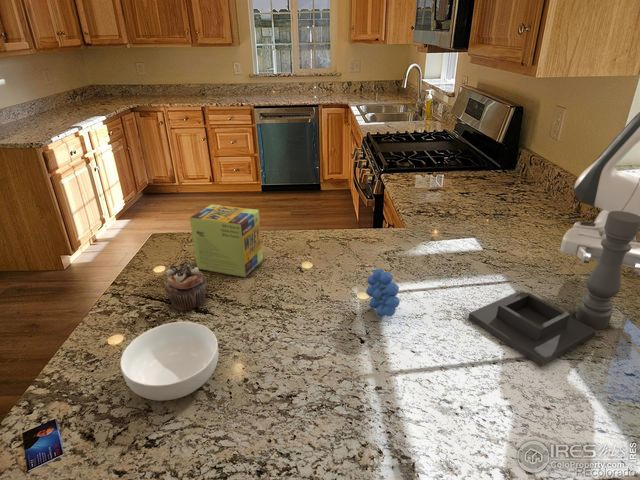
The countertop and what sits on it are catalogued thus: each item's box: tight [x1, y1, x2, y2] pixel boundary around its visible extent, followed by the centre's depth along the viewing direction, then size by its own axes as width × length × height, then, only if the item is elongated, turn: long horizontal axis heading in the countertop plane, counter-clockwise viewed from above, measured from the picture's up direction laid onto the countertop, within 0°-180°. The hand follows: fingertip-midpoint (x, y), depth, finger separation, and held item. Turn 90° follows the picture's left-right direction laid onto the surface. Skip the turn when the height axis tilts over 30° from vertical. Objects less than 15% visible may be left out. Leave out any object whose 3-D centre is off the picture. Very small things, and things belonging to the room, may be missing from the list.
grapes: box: [365, 268, 401, 318], centre depth 94 cm, size 12×7×12 cm, turn 24°
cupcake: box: [163, 261, 207, 311], centre depth 101 cm, size 10×10×10 cm
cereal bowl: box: [119, 321, 220, 402], centre depth 78 cm, size 17×17×7 cm
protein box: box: [189, 204, 264, 278], centre depth 116 cm, size 10×15×16 cm
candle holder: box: [575, 211, 640, 330], centre depth 89 cm, size 6×6×25 cm
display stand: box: [468, 289, 597, 367], centre depth 91 cm, size 18×18×4 cm
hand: (611, 265), depth 90 cm, fingers open, 8 cm apart
